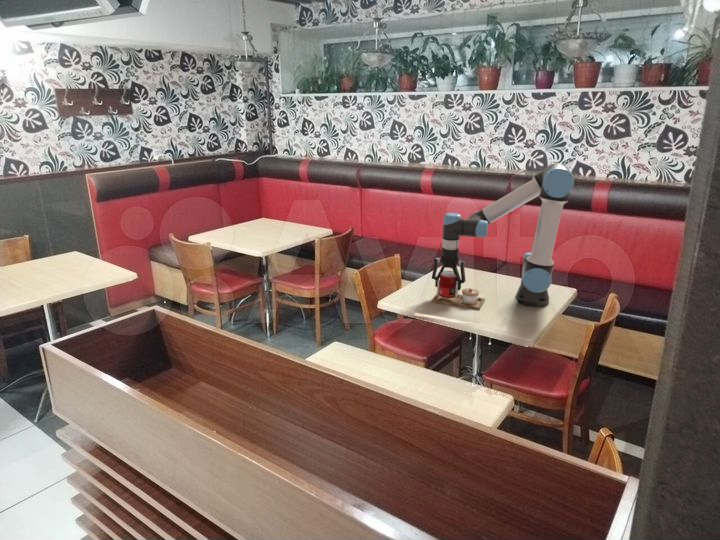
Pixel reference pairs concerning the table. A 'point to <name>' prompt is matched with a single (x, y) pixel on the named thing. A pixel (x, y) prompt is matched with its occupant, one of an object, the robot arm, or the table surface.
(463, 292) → the sugar pot
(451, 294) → the canned food
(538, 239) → the robot arm
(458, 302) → the wooden tray
